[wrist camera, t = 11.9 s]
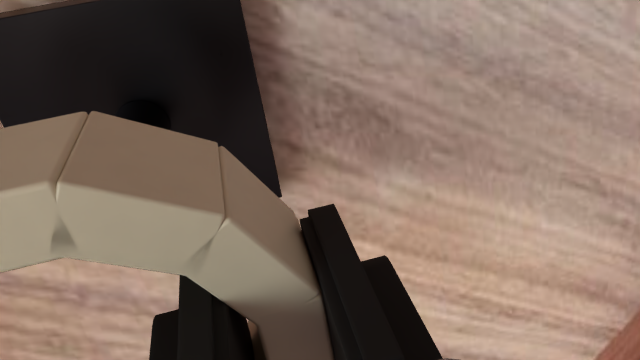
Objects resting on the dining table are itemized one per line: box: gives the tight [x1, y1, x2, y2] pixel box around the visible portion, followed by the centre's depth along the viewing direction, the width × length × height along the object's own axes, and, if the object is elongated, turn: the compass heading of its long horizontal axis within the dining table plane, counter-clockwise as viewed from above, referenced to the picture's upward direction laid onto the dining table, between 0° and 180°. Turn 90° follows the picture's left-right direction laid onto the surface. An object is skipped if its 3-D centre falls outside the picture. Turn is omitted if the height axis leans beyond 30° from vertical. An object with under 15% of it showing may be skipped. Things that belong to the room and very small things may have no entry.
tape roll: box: [0, 111, 335, 360], centre depth 9 cm, size 8×8×2 cm
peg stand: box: [0, 0, 282, 197], centre depth 16 cm, size 9×9×7 cm
